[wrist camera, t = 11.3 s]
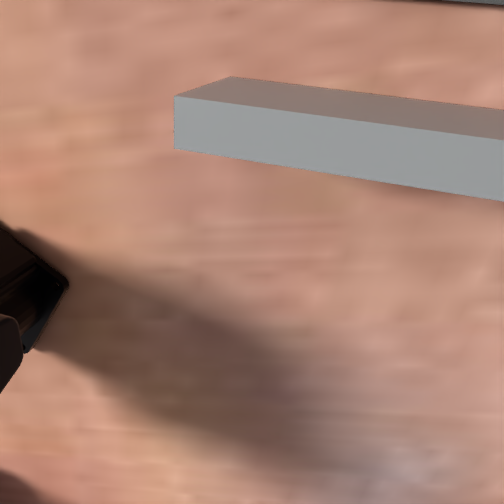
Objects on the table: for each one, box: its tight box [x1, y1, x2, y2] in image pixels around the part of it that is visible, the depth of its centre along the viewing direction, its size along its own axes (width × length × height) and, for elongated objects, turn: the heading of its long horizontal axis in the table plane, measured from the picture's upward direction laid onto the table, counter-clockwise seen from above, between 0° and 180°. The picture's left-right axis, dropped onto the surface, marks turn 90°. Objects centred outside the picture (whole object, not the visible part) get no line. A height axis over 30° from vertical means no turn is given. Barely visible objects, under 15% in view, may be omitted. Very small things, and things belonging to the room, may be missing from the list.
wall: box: [174, 77, 504, 202], centre depth 14 cm, size 18×2×5 cm, turn 85°
